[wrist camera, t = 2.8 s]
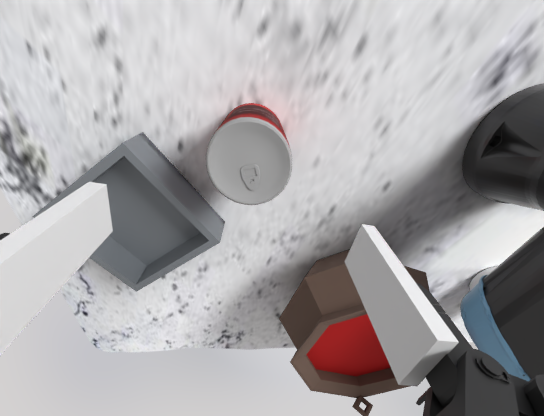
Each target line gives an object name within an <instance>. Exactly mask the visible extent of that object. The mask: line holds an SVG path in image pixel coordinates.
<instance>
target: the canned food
mask: <svg viewBox="0 0 544 416" xmlns="http://www.w3.org/2000/svg"><path fill="white" fill-rule="evenodd" d="M206 166H207V171H208V174H209V177H210V179H211V181H212V183H213V184H214V186H215V187H216V188H217V189H218V191H219V192H220V193H221V194H223V195H224V196H225V197H227V198H228V199H230V200H232V201H234V202H237V203H240V204H246V205H258V204H262V203H266V202H268V201H270V200H272V199H273V198H275V197H276V196H278V195H279V194H280V193H281V192H282V191H283V190H284V188H285V186H286V185H287V183H288V181H289V178H290V176H291V171H292V155H291V150H290V147H289V144H288V141H287V138H286V136H285V133H284V130H283V128H282V125H281V123H280V121H279V119H278V118H277V116H276V115H275V114H274V113H273V112H272V111H271V110H270V109H268V108H267V107H265V106H262V105H260V104H254V103H249V104H244V105H240V106H238V107H237V108H235V109H234V110H233V111H231V112H230V113H229V115H228V116H227V117H226V119H225V120H224V121H223V122H222V124H221V125H220V126H219V128H218V129H217V130H216V132H215V133H214V135H213V136H212V138H211V140H210V143H209V145H208V149H207V154H206Z"/></svg>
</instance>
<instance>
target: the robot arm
mask: <svg viewBox="0 0 544 416" xmlns="http://www.w3.org/2000/svg"><path fill="white" fill-rule="evenodd" d="M463 174H464V178H465V180H466V182H467V184H468V185H469V186H470V187H471V189H473V190H474V191H476V192H477V193H479V194H481V195H482V196H484V197H486V198H488V199H490V200H493V201H496V202H501V203H510V204H515V205H519V206H524V207H529V208H534V209H538V210H542V211H544V84H539V85H535V86H532V87H529V88H527V89H524V90H522V91H520V92H518V93H516V94H514V95H513V96H511V97H509V98H508V99H507V100H505V101H504V102H502V103H501V104H500V105H498V106H497V107H496V108H495V109H494V110H493V111H492V112H491V113H490V114H489V115H488V116H487V117H486V118H485V119H484V120H483V121H482V122H481V124H480V125H479V126H478V127H477V129H476V130H475V132H474V133H473V135H472V137H471V139H470V141H469V143H468V145H467V147H466V150H465V154H464V158H463ZM112 231H113V229H112V221H111V214H110V206H109V199H108V192H107V184H101V183H95V182H88V183H86V184H85V185H83V186H82V187H80V188H79V189H77V190H76V191H74V192H73V193H71V194H70V195H68V196H67V197H65V198H64V199H62V200H61V201H59V202H58V203H56V204H55V205H53V206H52V207H50V208H49V209H47V210H46V211H44V212H43V213H41V214H40V215H38V216H36V217H35V218H33V219H32V220H30V221H29V222H27V223H26V224H24V225H23V226H21V227H20V228H18V229H17V230H15V231H14V232H12V233H11V234H10V233H3V234H1V235H0V355H1V354H2V353H3V352H4V351H5V350H6V348H7V347H8V346H9V345H10V344H11V343H12V342H13V341H14V340H15V339H16V337H17V336H18V335H19V334H20V333H21V332H22V331H23V330H24V329H25V327H26V326H27V325H28V324H29V323H30V322H31V321H32V320H33V319H34V317H35V316H36V315H37V314H38V313H39V312H40V311H41V310H42V309H43V308H44V306H45V305H46V304H47V303H48V302H49V301H50V300H51V299H52V298H53V297H54V295H55V294H56V293H57V292H58V291H59V290H60V289H61V288H62V287H63V286H64V284H65V283H66V282H67V281H68V280H69V279H70V278H71V277H72V276H73V275H74V273H75V272H76V271H77V270H78V269H79V268H80V267H81V266H82V265H83V263H84V262H85V261H86V260H87V259H88V258H89V257H90V256H91V255H92V254H93V252H94V251H95V250H96V249H97V248H98V247H99V246H100V245H101V244H102V243H103V241H104V240H105V239H106V238H107V237H108V236H109V235H110V234H111V233H112ZM345 264H346V266H347V269H348V271H349V273H350V275H351V278H352V280H353V282H354V284H355V287H356V289H357V291H358V294H359V296H360V298H361V300H362V303H363V305H364V307H365V310H366V312H367V314H368V316H369V319H370V321H371V323H372V326H373V328H374V330H375V332H376V335H377V337H378V339H379V342H380V344H381V346H382V348H383V351H384V353H385V355H386V358H387V360H388V362H389V364H390V367H391V369H392V371H393V374H394V376H395V378H396V380H397V383H398V385H407V386H418V385H419V384H420V383H421V381H423V379H424V378H425V377H426V379H427V380H428V382H429V384H430V386H431V387H430V388H429V389H428V390H427V391H426V392H425V393H424V394H423V395H422V396H421V397H420V398H419V399H418V401H417V403H416V404H418V405H421V403H423V402H424V401H425V406H424V412H423V416H544V227H543V228H542V229H540V230H539V231H538V232H537V233H536V234H535V235H533V236H532V237H531V238H530V239H529V240H528V241H527V242H525V243H524V244H523V245H522V246H521V247H520V248H519V249H517V250H516V251H515V252H514V253H513V254H512V255H511V256H509V257H508V258H507V259H506V260H505V261H504V262H503V263H501V264H500V265H499V266H498V267H497V268H495V269H494V270H493V271H492V272H491V273H489V274H488V275H483V276H482V277H481V278H480V280H479V283H478V284H477V285H476V286H475V287H474V288H473V289H472V290H470V291H469V292H468V293H467V294H466V295H465V297H464V298H463V300H462V302H461V316H462V319H463V321H464V324H465V327H466V329H467V331H468V333H469V335H470V337H471V339H472V340H473V342H474V343H475V345H476V346H477V348H478V349H479V350H476V349H473V348H472V347H471V345H470V344H469V343H468V342H467V340H466V339H465V338H464V336H463V335H462V334H461V332H460V331H459V330H458V328H457V327H456V326H455V324H454V323H453V322H452V321H451V319H450V318H449V317H448V315H446V314H445V311H444V310H443V309H442V307H441V306H439V305H438V304H439V303H438V302H437V301H436V299H435V298H434V297H433V296H432V294H431V293H430V292H429V291H428V290H426V289H425V288H424V287H423V286H422V285H421V284H418V283H415V281H414V280H413V278H412V277H411V276H410V274H409V273H408V272H407V270H406V269H405V267H404V266H403V265H402V263H401V262H400V261H399V259H398V258H397V256H396V255H395V254H394V252H393V251H392V250H391V248H390V247H389V245H388V244H387V243H386V241H385V240H384V239H383V237H382V236H381V234H380V233H379V232H378V230H377V229H376V228H375V226H370V225H364V224H362V225H361V227H360V229H359V231H358V233H357V235H356V238H355V240H354V242H353V244H352V246H351V249H350V251H349V253H348V255H347V257H346V260H345Z"/></svg>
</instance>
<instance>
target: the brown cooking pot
mask: <svg viewBox="0 0 544 416" xmlns="http://www.w3.org/2000/svg"><path fill="white" fill-rule="evenodd" d="M349 251H350V250H346V251H343V252H340V253H338V254H335V255H332V256H329V257H326V258H323V259H320V260H317V261H316V263H315V264H314V265H313V267H312V268H311V269H310V271H309V272H308V274H307V275H306V276H305V278H304V279H303V281H302V282H301V284H300V286H299V287H298V289H297V290H296V292H295V294H294V295H293V297H292V298H291V300H290V302H289V303H288V305H287V307H286V308H285V310H284V311H283V313H282V315H281V316H280V318H279V319H280V321H281V323H282V324H283V326H284V328H285V329H286V331H287V333H288V335H289V336H290V338H291V340H292V342H293V343H294V345H295V347H296V348H297V351H296V353H295V355H294V357H293V358H292V360H291V364H292V365H293V367H294V368H295V369H296V371H297V372H298V374H299V375H300V376H301V377H302V379H303V380H304V382H305V383H306V385H307V386H308V387H309V389H310V390H311V391H317V392H323V393H330V394H336V395H342V396H348V397H354V398H357V399H356V401H355V403H354V405H353V407H354V408H355V409H356V410H357V411H358V412H359V413H360V414H361V415H363V416H368V415H369V413H370V411H371V409H372V406H373V405H372V404H370V403H369V402H368V401H367V400H366V399H364V398H363V397H367V396H371V395H375V394H380V393H384V392H388V391H392V390H396V389H401V388H404V387H409V386H407V385H398V383H397V380H396V378H395V376H394V374H393V371H392V369H391V367H390V364H389V362H388V360H387V358H386V355H385V353H384V351H383V348H382V346H381V344H380V342H379V339H378V337H377V335H376V332H375V330H374V328H373V326H372V323H371V321H370V319H369V316H368V314H367V312H366V310H365V307H364V305H363V303H362V300H361V298H360V296H359V294H358V291H357V289H356V287H355V284H354V282H353V280H352V278H351V275H350V273H349V271H348V269H347V266H346V264H345V260H346V257H347V255H348V253H349ZM404 267H405V269H406V270H407V272H408V273H409V274H410V276H411V277H412V278H413V280H414V281H415V283H418V284H421V285H422V286H423V287H424V288H425V289H426V290H428V291H429V286H428V281H427V276H426V273H425V272H422V271H419V270H416V269H412V268H409V267H406V266H404ZM449 318H450V317H449ZM361 402H363V403H364V404H365V405H366V408H365V410H362V409H361V408H360V407H359V405H360V403H361Z"/></svg>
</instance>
